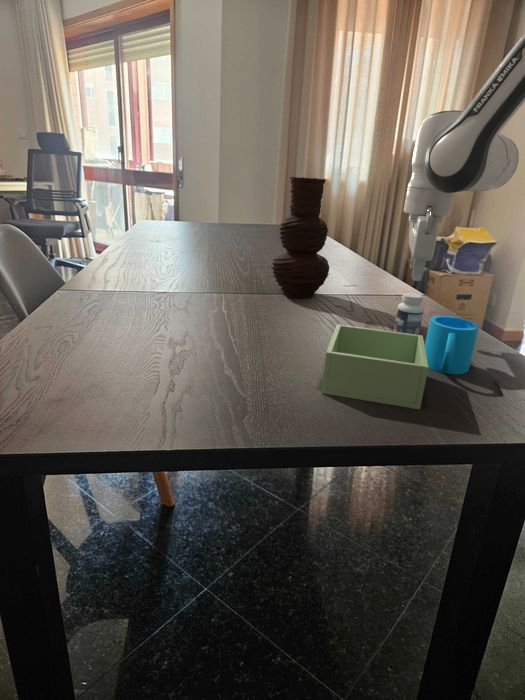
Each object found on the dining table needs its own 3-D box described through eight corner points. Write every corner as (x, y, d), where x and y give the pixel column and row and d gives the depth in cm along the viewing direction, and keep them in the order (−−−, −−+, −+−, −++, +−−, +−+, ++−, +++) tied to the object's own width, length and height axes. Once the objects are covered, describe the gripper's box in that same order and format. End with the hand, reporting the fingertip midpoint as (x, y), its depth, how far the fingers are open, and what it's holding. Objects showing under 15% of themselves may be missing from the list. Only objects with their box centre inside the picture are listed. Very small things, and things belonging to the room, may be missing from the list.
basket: (415, 371, 82) (422, 335, 79) (420, 409, 69) (428, 367, 66) (332, 359, 85) (336, 324, 83) (321, 393, 72) (326, 352, 69)
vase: (275, 285, 136) (282, 175, 125) (328, 291, 133) (340, 179, 122) (264, 298, 122) (272, 176, 111) (323, 305, 119) (337, 180, 108)
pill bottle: (389, 330, 103) (396, 291, 99) (412, 331, 103) (419, 291, 100) (398, 339, 98) (405, 297, 94) (422, 339, 98) (430, 298, 95)
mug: (423, 353, 91) (431, 313, 88) (468, 361, 88) (478, 320, 85) (417, 375, 80) (426, 330, 77) (468, 386, 77) (479, 340, 74)
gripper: (451, 210, 81) (435, 288, 86) (440, 203, 99) (427, 268, 104) (413, 206, 82) (399, 284, 87) (409, 200, 100) (398, 264, 106)
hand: (414, 275), depth 96 cm, fingers open, 8 cm apart
